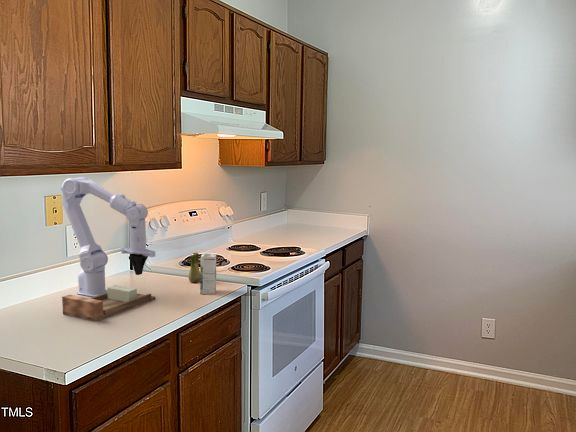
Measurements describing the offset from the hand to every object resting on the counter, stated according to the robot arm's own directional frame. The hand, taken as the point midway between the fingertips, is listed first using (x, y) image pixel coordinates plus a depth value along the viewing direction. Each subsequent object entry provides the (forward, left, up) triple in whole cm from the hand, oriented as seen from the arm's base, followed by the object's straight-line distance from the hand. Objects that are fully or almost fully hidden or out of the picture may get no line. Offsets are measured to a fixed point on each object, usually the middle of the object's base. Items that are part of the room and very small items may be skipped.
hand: (138, 274), depth 198 cm
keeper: (0, -9, -7) cm, 11 cm away
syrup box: (+19, +17, -9) cm, 27 cm away
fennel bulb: (+5, +27, -9) cm, 29 cm away
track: (0, -14, -8) cm, 16 cm away
